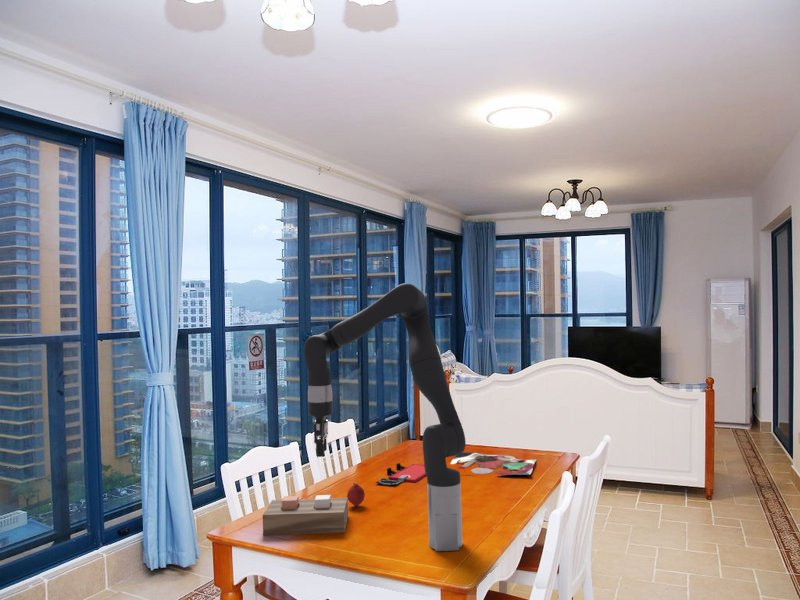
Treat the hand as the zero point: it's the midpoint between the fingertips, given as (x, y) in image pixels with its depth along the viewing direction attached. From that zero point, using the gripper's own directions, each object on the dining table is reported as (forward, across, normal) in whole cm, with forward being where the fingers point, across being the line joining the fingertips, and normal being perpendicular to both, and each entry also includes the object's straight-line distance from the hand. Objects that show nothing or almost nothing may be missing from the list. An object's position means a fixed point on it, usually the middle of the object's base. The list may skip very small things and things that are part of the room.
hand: (321, 453), depth 188 cm
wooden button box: (+22, 0, +5) cm, 22 cm away
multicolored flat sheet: (+23, +65, -62) cm, 93 cm away
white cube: (+17, 0, 0) cm, 17 cm away
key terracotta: (+17, 0, +10) cm, 20 cm away
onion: (+22, +17, -9) cm, 29 cm away
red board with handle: (+23, +53, -26) cm, 63 cm away
